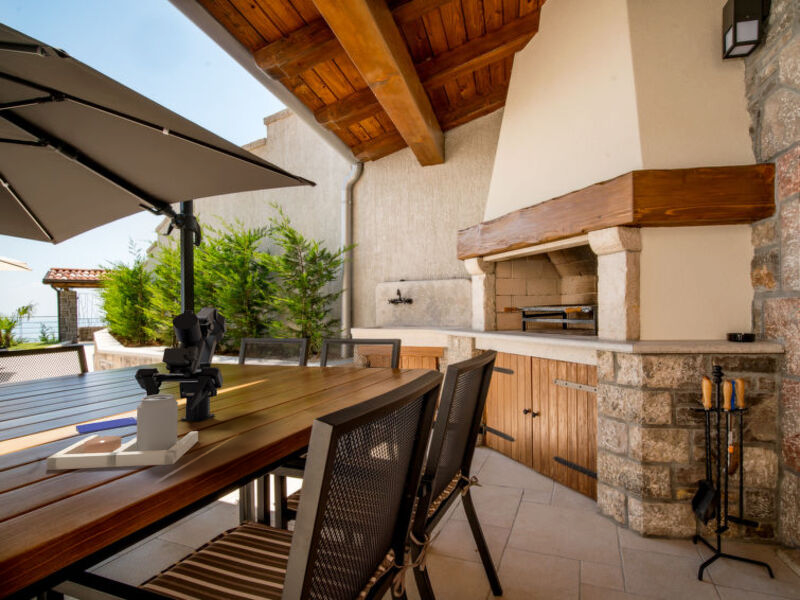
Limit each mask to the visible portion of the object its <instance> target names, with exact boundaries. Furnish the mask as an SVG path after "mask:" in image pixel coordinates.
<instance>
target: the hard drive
mask: <svg viewBox="0 0 800 600" xmlns="http://www.w3.org/2000/svg"><path fill="white" fill-rule="evenodd" d="M130 426H132V427H134V426H135V427H137V419H135V418H134V417H133V416H131V417H130V416H129V417H124V418H123V417H122V418H116V419H111V420H105V421H104V420H103V421H97V422H92V423H91V422H90V423H84V424H78V425H75V430H76V432H77V433H78V434H79V435H84V434H89V433H90V434H91V433H97V432H103V431H108V430H114V429H119V428H126V427H130Z"/></svg>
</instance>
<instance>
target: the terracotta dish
mask: <svg viewBox="0 0 800 600" xmlns="http://www.w3.org/2000/svg"><path fill="white" fill-rule="evenodd" d="M122 440H123V439H122V436H120V435H107V436H100V437H98V438H94V439H91V440H88V441H86V442H84V454H87V453H111V452H113V451H115V450H116V449H118V448H120V447H121V444H122Z"/></svg>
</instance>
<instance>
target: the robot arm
mask: <svg viewBox="0 0 800 600" xmlns="http://www.w3.org/2000/svg"><path fill="white" fill-rule="evenodd" d="M193 311H194V310H192V309H191V310H190V309H189V310H188V309H184V310H183V312H182V313H180V314H178V315H176V316H175V317H174V318H173V319H172V323H171V324H172V327H173V331H174V334H175V337H176V339H177V342H178V343H179V345H178V347H165V348H164V351H163V354H162V360H161V362H162V363H165V364H166V365H165V369H166V371H168V372H159V370H158V368H157V367H141V368H139V369H138V370H136V372H135V375H134V378H135V380H136V381H137V383H138V384H139V385H138V386H139V387H140V388H141V389H142V390H144V391H145V392H146V396H150V395H158V394H160V392H161V390H160V388H161V387H162V383H163V382H164V383H165V382H166V383H168V382H169V383H170V382H171V383H172V382H173V383H175V382H177V383H179V396H180V400H182V399H186V403H185V416H183V417H181V418H180V421H186V422H187V421H191V422H203V421H205V420H208V419H210V418H212V417H215V415H216V414H215V413H211V398H214V397H217V396H218V389H221V388H222V387H223V383H224V377H223V374H222V372H221V369H220V368H219V367H217V366H216V367H215V366H214V367H212V361H213V357H214V353H215V350H216V345H217V343H219V342H221V341H222V340H223V339H224V336H225V334H227V321H226V317H225V316H223V315H222V314H221V313H219V310H218V308H215V307H202V308H200V309H199V311H198V312H197V313H196V314H195V313H194V312H193Z"/></svg>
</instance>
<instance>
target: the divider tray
mask: <svg viewBox="0 0 800 600" xmlns="http://www.w3.org/2000/svg"><path fill="white" fill-rule="evenodd" d="M98 437H101V436H100V434H92V435H89V436H87V437H86V438H83V439H81V440H80V441H78V442H75V443H73V444H72V445H69V446H67V447H66V448H64V449H62V450H60V451H58V452H56V453H53V454H52V455H50V456H47V458H46V471H51V470H70V469H71V470H73V469H74V470H75V469H92V468H93V469H95V468H115V467H117V468H119V467H137V466H159V465H174V464H175V463H176V462H177V461H178V460H179V459H180V458H182V457H183V456H184V454H186V453H187V451H189V450H190V449H191V448H192V447H193V446H194V445H195V444H196V443H197V442H198V441H199V431H197V430H195V431H190V432H189V433H187V434H186V435H185V436H184V437H182V438H181V439H180V440H178V441H177V443H176V444H175V445H174V446H173V447H171V448H170V449H169V450H160V451H136V443H137V436H135V437H134V438H132V439H131V440H129V441H128V442H126V443H121V447H120V448H118V449H116V450H115V451H113V452H111V453H87V454H84V442H86V441H88V440H91V439H94V438H98Z"/></svg>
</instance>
